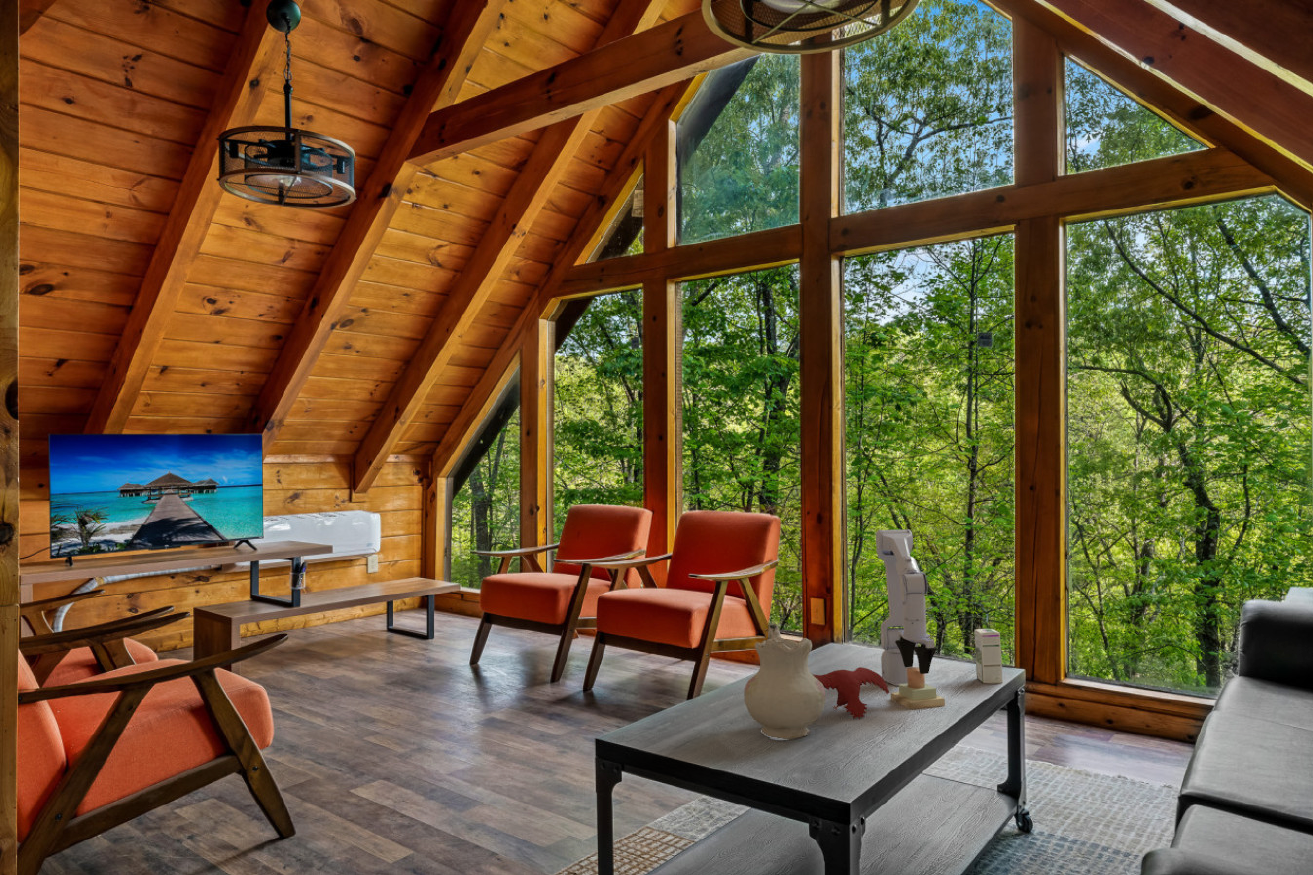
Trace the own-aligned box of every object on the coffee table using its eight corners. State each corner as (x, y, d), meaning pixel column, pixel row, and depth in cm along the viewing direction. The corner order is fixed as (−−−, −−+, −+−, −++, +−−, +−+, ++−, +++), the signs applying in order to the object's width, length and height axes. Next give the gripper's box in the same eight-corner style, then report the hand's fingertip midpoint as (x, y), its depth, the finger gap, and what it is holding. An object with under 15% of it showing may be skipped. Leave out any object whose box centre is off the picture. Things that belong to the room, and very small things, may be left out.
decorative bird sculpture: (896, 724, 225) (872, 673, 235) (912, 706, 219) (886, 655, 229) (801, 738, 215) (780, 684, 225) (814, 720, 209) (792, 666, 219)
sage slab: (898, 693, 232) (898, 684, 232) (922, 691, 233) (922, 682, 233) (912, 700, 225) (912, 690, 225) (936, 698, 226) (936, 688, 227)
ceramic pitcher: (731, 727, 216) (721, 628, 215) (799, 711, 222) (790, 615, 222) (770, 754, 195) (759, 645, 195) (844, 736, 202) (834, 630, 202)
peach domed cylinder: (904, 685, 231) (903, 668, 231) (918, 683, 232) (918, 666, 232) (913, 689, 226) (912, 672, 227) (928, 687, 228) (927, 670, 228)
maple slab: (890, 701, 233) (890, 692, 233) (923, 698, 236) (923, 689, 236) (911, 711, 223) (910, 702, 223) (944, 707, 226) (944, 698, 226)
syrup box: (1003, 683, 246) (1001, 632, 247) (982, 683, 246) (980, 632, 247) (995, 678, 252) (993, 628, 252) (975, 678, 252) (973, 628, 252)
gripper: (943, 622, 224) (945, 674, 224) (912, 613, 238) (914, 662, 238) (919, 624, 222) (921, 677, 222) (890, 615, 236) (891, 664, 236)
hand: (916, 670), depth 230 cm, fingers open, 7 cm apart
